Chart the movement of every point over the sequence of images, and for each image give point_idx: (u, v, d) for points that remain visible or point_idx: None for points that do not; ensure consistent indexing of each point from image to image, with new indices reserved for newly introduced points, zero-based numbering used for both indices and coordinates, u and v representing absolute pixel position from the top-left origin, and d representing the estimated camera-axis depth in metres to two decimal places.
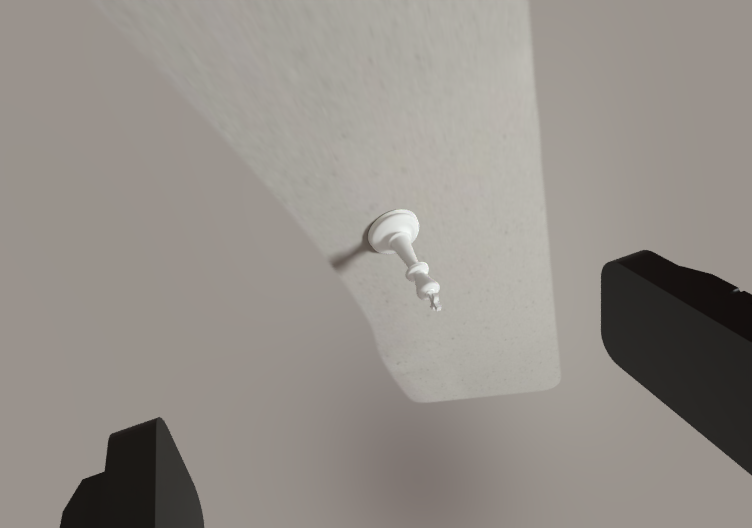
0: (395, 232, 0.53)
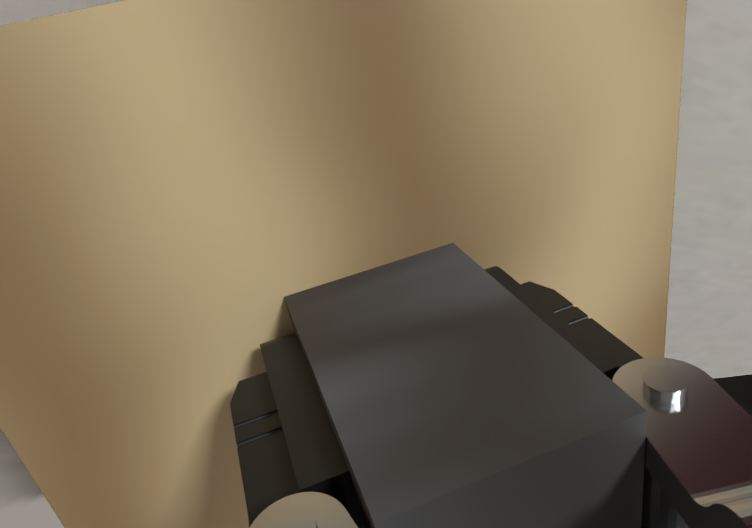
0: None
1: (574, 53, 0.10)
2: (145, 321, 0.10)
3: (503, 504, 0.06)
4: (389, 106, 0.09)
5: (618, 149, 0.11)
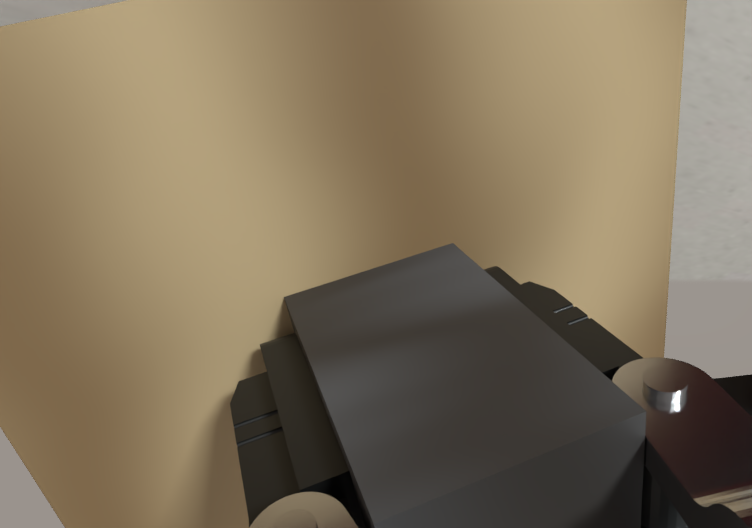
0: None
1: (574, 53, 0.10)
2: (145, 321, 0.10)
3: (502, 504, 0.06)
4: (389, 106, 0.09)
5: (618, 149, 0.11)
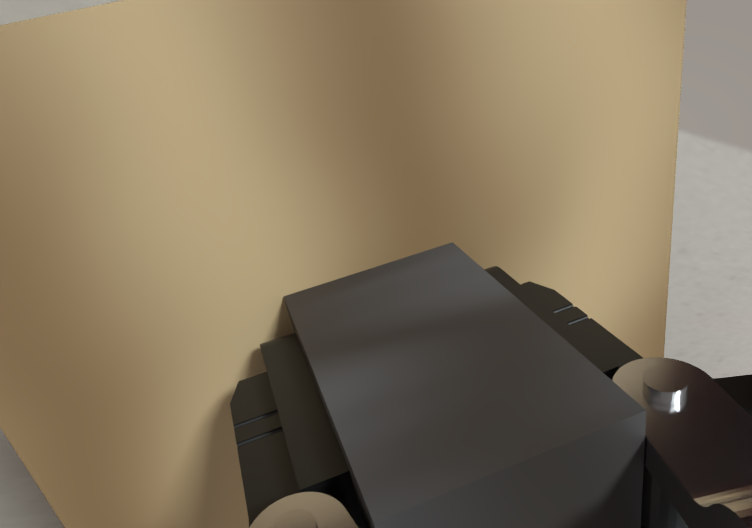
0: None
1: (574, 53, 0.10)
2: (145, 320, 0.10)
3: (501, 503, 0.06)
4: (389, 106, 0.09)
5: (618, 149, 0.11)
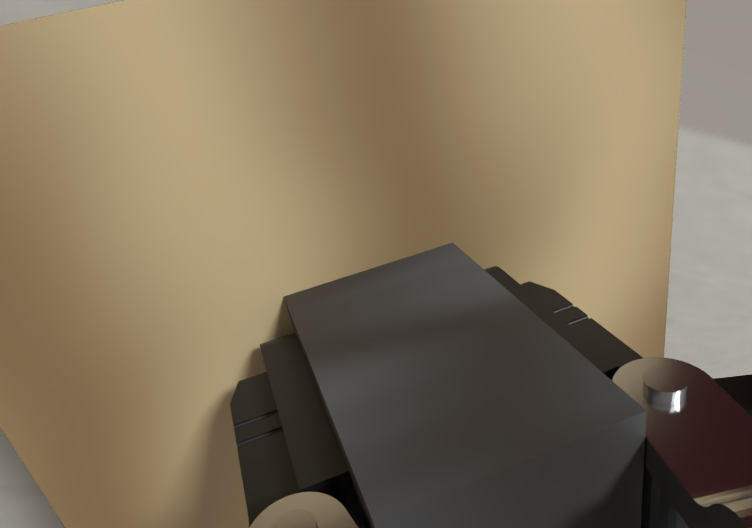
0: None
1: (574, 53, 0.10)
2: (145, 321, 0.10)
3: (502, 503, 0.06)
4: (389, 106, 0.09)
5: (618, 149, 0.11)
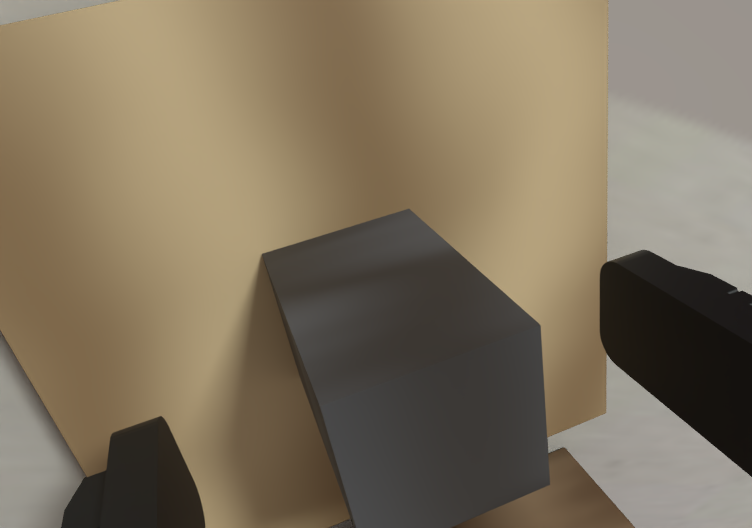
0: None
1: (509, 43, 0.12)
2: (142, 273, 0.11)
3: (424, 398, 0.08)
4: (349, 89, 0.11)
5: (553, 127, 0.13)
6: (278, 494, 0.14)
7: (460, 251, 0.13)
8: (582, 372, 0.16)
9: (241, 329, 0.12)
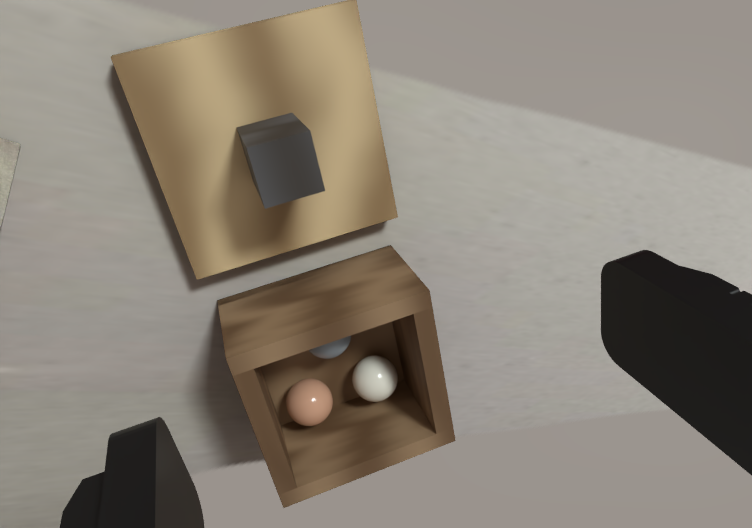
0: None
1: (325, 50, 0.32)
2: (194, 131, 0.32)
3: (277, 150, 0.29)
4: (265, 66, 0.32)
5: (348, 82, 0.33)
6: (246, 236, 0.35)
7: (315, 131, 0.34)
8: (381, 193, 0.37)
9: (229, 157, 0.33)
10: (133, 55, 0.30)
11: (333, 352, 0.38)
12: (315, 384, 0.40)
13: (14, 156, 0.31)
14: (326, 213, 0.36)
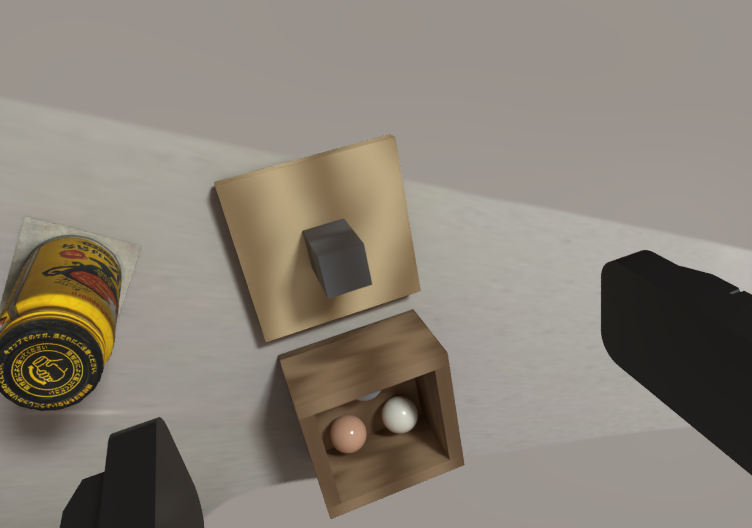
0: None
1: (370, 173, 0.43)
2: (271, 235, 0.42)
3: (339, 258, 0.39)
4: (326, 187, 0.42)
5: (386, 194, 0.44)
6: (305, 308, 0.45)
7: (360, 231, 0.44)
8: (408, 274, 0.47)
9: (295, 252, 0.43)
10: (231, 184, 0.40)
11: (370, 396, 0.48)
12: (353, 420, 0.50)
13: (136, 254, 0.41)
14: (366, 289, 0.46)
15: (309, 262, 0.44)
